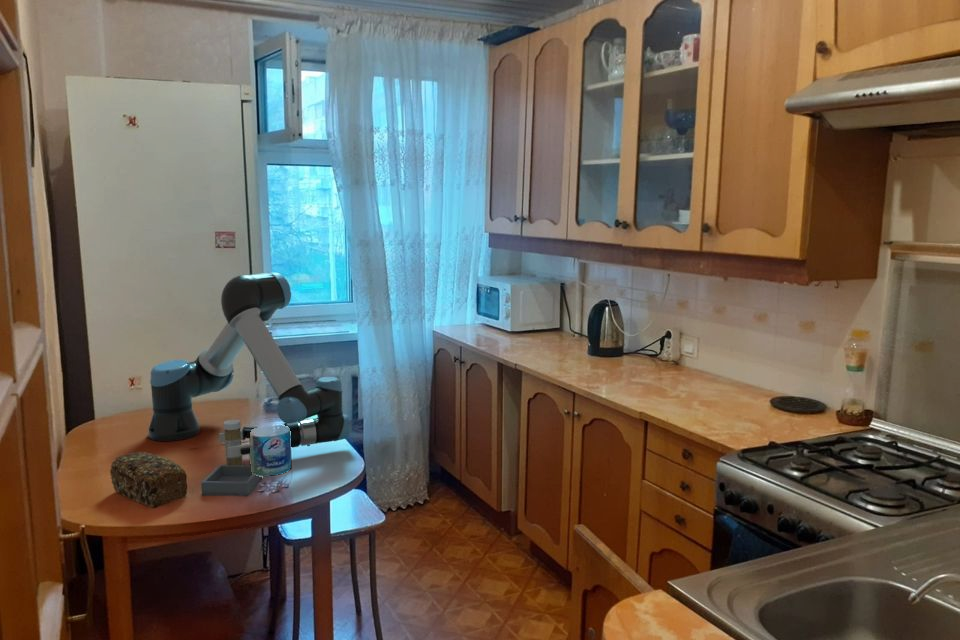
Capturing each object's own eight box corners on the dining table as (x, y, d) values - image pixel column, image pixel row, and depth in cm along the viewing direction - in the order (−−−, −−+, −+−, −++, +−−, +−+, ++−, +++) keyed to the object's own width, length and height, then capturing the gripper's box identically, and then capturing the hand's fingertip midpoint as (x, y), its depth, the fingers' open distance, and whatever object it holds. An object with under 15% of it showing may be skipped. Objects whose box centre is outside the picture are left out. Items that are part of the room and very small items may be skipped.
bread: (111, 493, 181) (107, 456, 180) (150, 480, 190) (147, 445, 188) (150, 511, 171) (147, 472, 169) (190, 496, 179) (187, 459, 178)
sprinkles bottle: (243, 463, 202) (241, 418, 200) (242, 468, 198) (239, 423, 196) (226, 464, 201) (224, 419, 199) (225, 470, 197) (222, 424, 195)
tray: (201, 495, 180) (201, 482, 179) (220, 477, 192) (219, 465, 191) (248, 495, 180) (247, 482, 179) (263, 477, 191) (263, 465, 191)
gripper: (310, 459, 197) (231, 472, 187) (288, 433, 219) (216, 444, 208) (309, 433, 196) (230, 445, 186) (287, 410, 217) (215, 420, 207)
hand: (223, 445), depth 197 cm, fingers open, 13 cm apart
